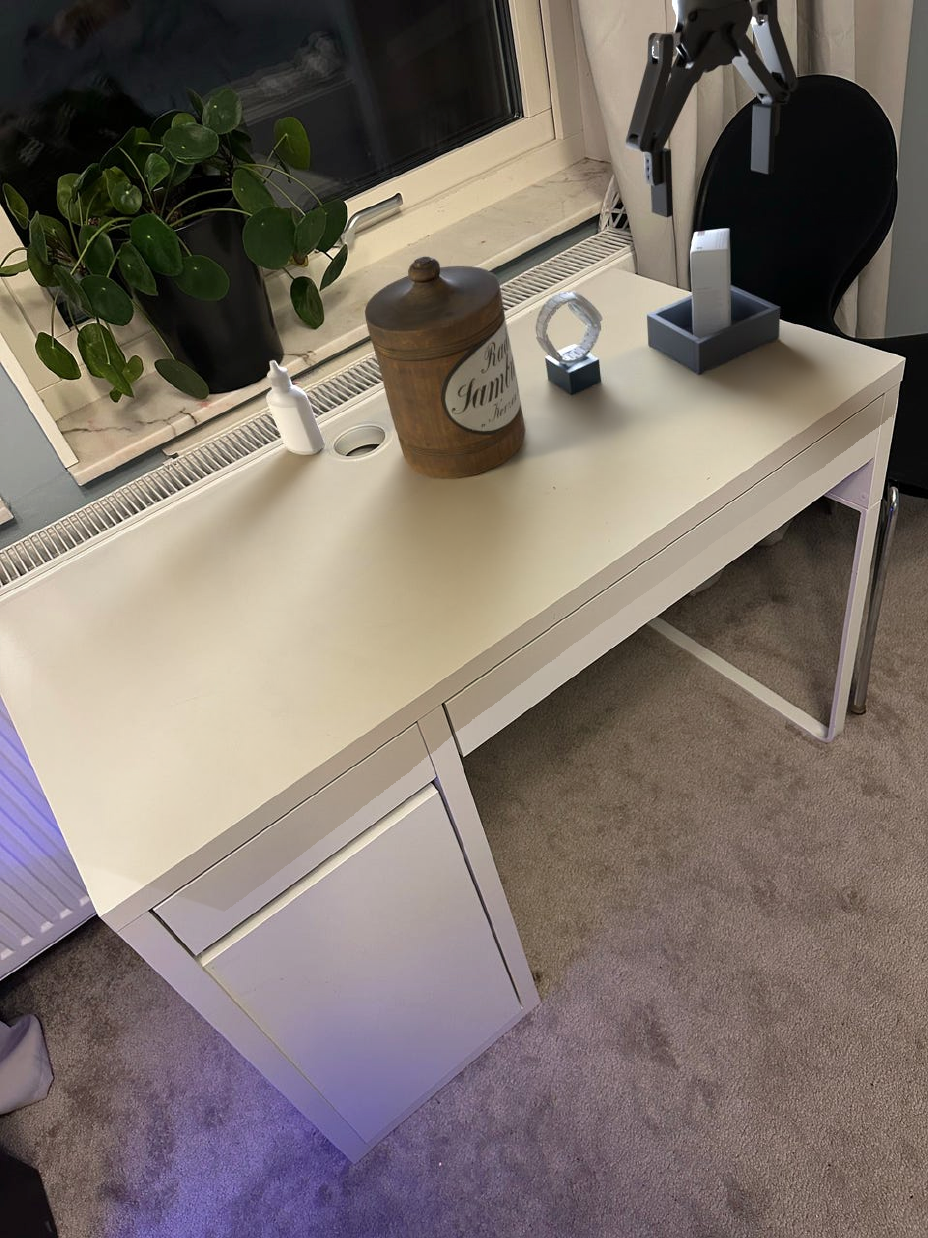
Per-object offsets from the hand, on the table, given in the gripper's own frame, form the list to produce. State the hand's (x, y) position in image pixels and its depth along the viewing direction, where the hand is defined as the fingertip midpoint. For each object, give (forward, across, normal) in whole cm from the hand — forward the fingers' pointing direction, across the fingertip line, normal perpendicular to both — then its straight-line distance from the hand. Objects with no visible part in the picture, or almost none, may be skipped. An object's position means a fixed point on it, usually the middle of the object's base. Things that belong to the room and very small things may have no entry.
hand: (713, 192), depth 93 cm
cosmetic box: (+18, 0, 0) cm, 18 cm away
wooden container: (+18, +34, -4) cm, 38 cm away
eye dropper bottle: (+18, +50, -18) cm, 56 cm away
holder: (+18, 0, 0) cm, 18 cm away
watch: (+18, +17, -6) cm, 25 cm away
